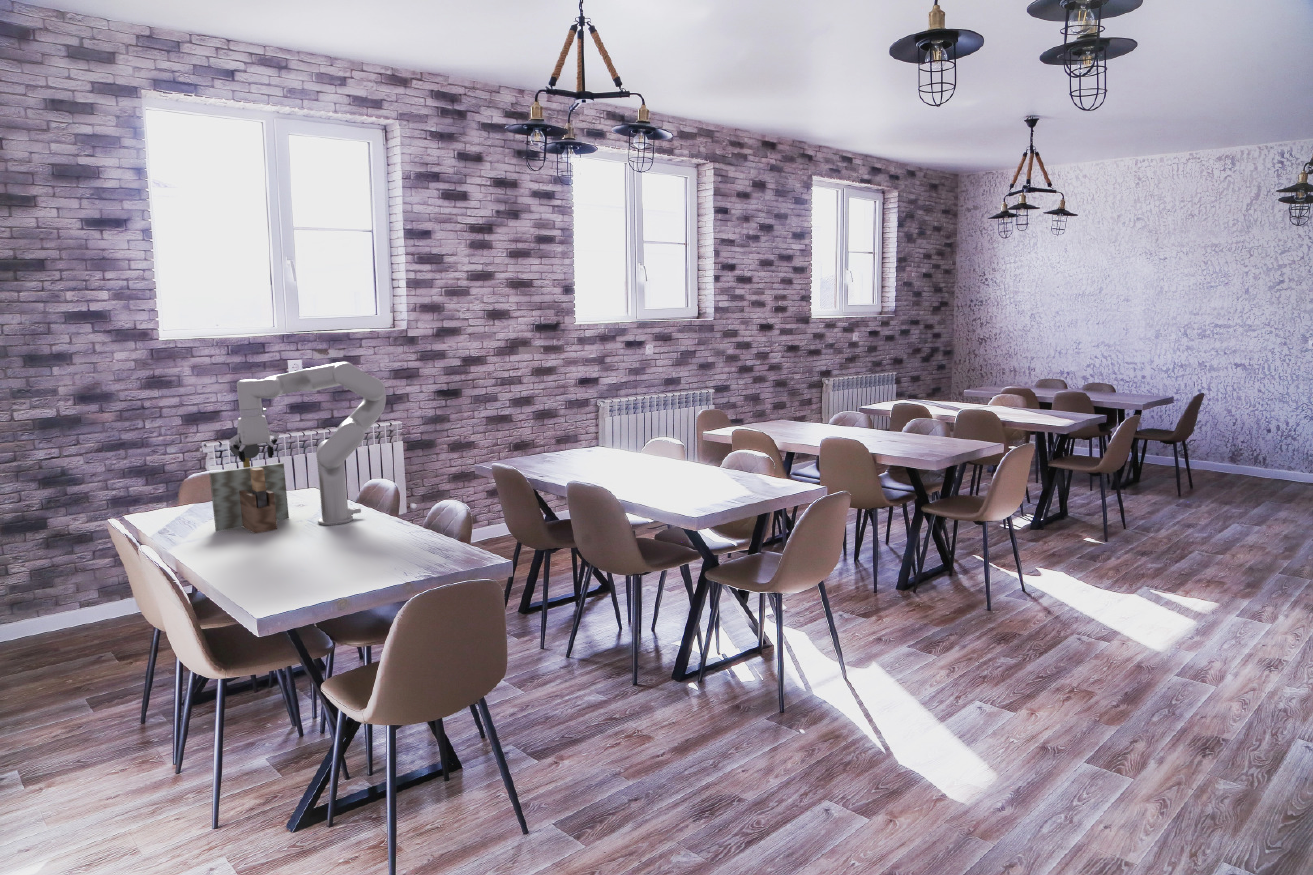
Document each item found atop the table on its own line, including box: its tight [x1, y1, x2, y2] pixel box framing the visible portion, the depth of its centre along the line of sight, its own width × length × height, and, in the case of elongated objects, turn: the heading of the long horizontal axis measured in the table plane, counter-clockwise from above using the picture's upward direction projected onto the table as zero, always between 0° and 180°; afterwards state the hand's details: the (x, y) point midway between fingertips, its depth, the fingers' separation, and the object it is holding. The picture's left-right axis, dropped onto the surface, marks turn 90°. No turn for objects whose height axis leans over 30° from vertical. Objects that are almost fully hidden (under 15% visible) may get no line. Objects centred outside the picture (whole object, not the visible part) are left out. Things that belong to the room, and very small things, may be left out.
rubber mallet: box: [229, 439, 261, 468], centre depth 342 cm, size 12×8×30 cm, turn 50°
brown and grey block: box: [250, 467, 267, 508], centre depth 314 cm, size 3×5×14 cm, turn 43°
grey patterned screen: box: [209, 462, 290, 534], centre depth 318 cm, size 26×16×22 cm, turn 132°
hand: (256, 459), depth 312 cm, fingers open, 9 cm apart
